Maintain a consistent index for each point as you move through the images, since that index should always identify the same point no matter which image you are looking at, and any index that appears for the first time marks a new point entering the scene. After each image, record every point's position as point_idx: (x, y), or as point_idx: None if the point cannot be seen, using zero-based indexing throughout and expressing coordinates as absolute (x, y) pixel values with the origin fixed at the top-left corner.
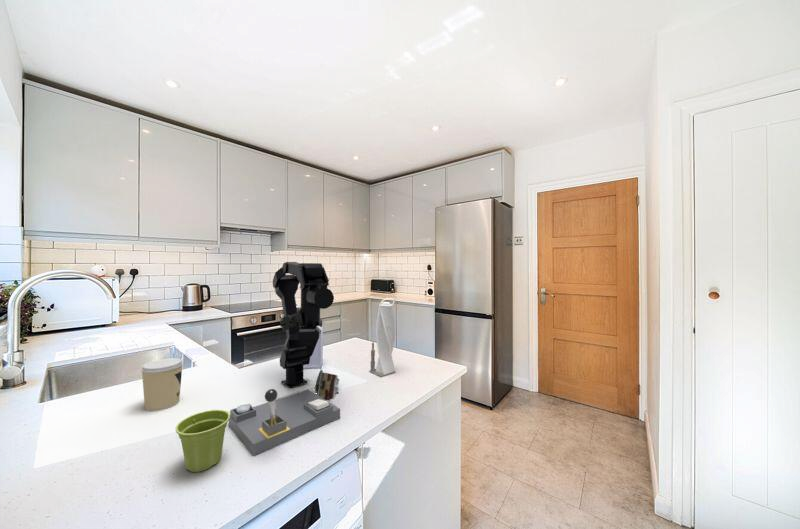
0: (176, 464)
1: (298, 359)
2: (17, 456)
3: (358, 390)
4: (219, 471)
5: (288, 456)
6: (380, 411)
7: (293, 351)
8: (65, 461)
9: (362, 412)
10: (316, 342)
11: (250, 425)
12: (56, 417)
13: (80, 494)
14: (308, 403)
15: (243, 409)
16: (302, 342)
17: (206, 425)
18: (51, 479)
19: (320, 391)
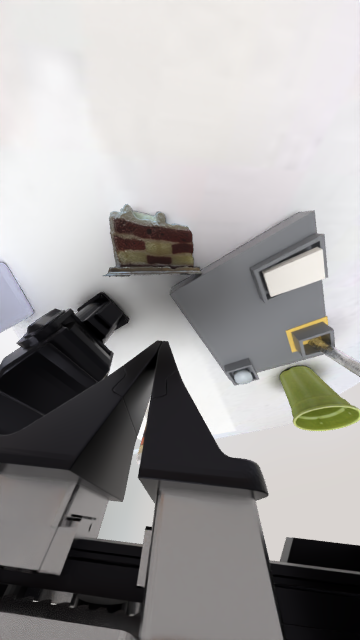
0: (282, 387)
1: (95, 345)
2: (218, 436)
3: (147, 125)
4: (322, 362)
5: (356, 306)
6: (354, 6)
7: (92, 377)
8: (235, 425)
9: (309, 124)
10: (186, 391)
11: (273, 360)
12: None
13: (283, 413)
14: (273, 295)
15: (251, 378)
16: (36, 379)
17: (291, 403)
18: (254, 424)
19: (178, 265)
